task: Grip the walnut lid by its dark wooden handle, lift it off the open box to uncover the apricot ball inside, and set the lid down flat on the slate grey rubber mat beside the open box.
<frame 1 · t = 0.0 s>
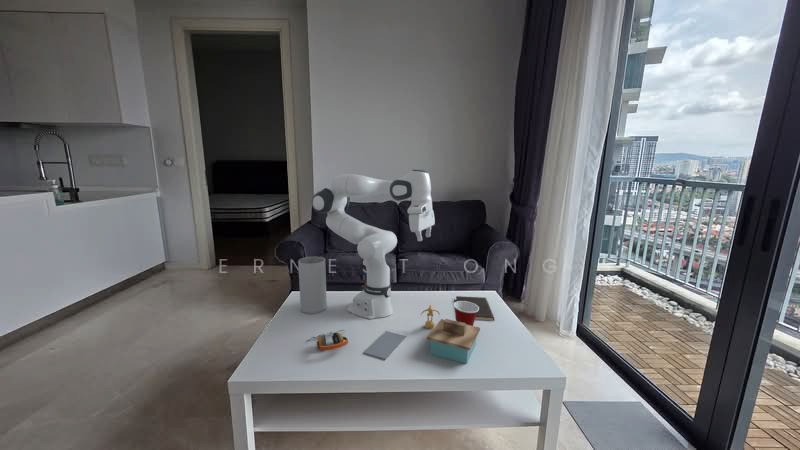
hand: (424, 238, 141), 39 cm above the table, tool pointing down, fingers open, 8 cm apart
open box: (453, 351, 124), on the table
headphones: (329, 345, 128), on the table
plastic cup: (465, 332, 140), on the table
hardcover book: (473, 310, 162), on the table
figurine: (429, 330, 140), on the table
lid: (454, 334, 123), point 7 cm above the table, touching open box
ball: (453, 348, 124), point 1 cm above the table, touching open box
cylinder vase: (313, 309, 160), on the table
mat: (397, 348, 126), on the table
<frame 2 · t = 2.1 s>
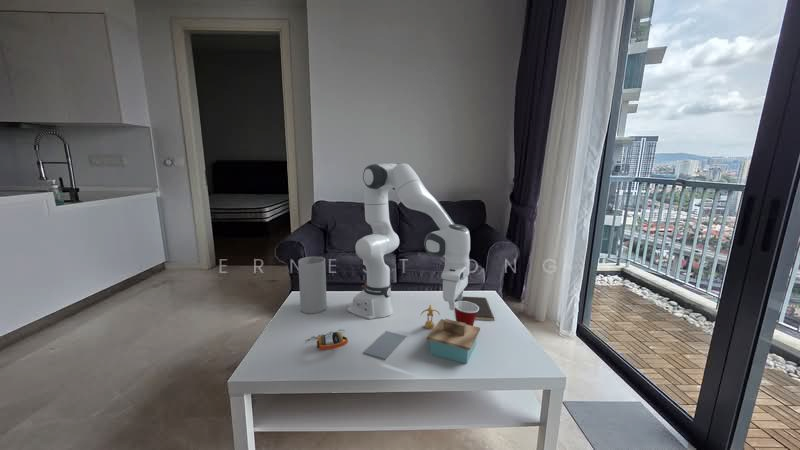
hand: (456, 304, 121), 19 cm above the table, tool pointing down, fingers open, 8 cm apart
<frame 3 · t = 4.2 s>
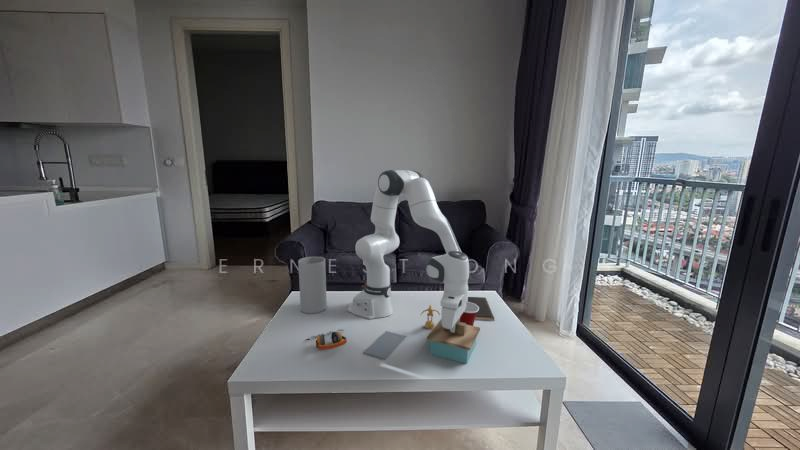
hand: (454, 329, 123), 9 cm above the table, tool pointing down, fingers closed on lid, 2 cm apart
lid: (454, 334, 123), point 7 cm above the table, touching open box, gripper
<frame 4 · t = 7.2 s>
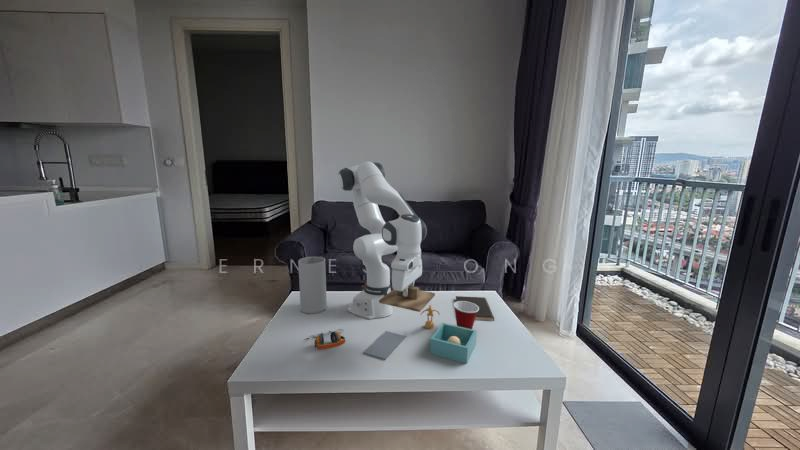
hand: (407, 293, 122), 22 cm above the table, tool pointing down, fingers closed on lid, 2 cm apart
lid: (407, 299, 123), point 20 cm above the table, touching gripper
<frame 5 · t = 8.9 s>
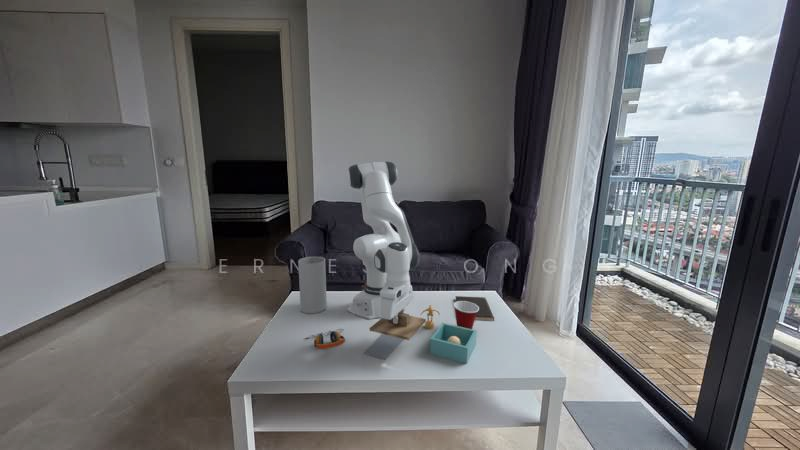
hand: (398, 320, 124), 12 cm above the table, tool pointing down, fingers closed on lid, 2 cm apart
lid: (398, 325, 124), point 10 cm above the table, touching gripper
when the fingers open (4 cm above the table, at t = 10.4 s): lid drops 1 cm, resting on mat.
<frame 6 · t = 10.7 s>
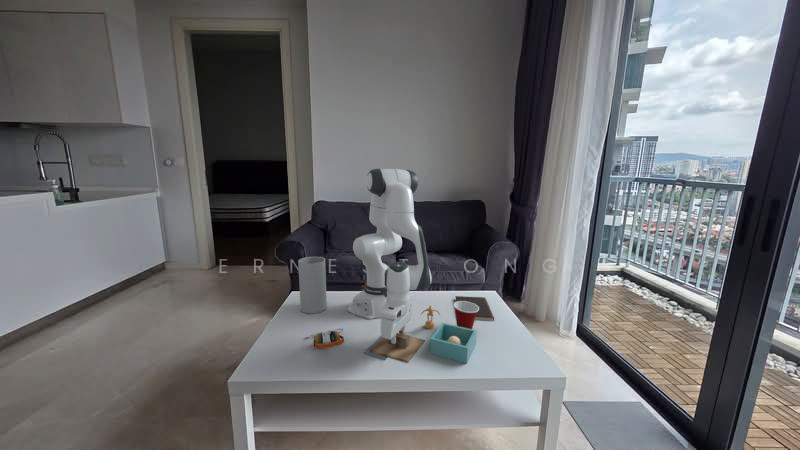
hand: (397, 338, 125), 4 cm above the table, tool pointing down, fingers open, 5 cm apart
lid: (398, 346, 126), point 1 cm above the table, touching mat
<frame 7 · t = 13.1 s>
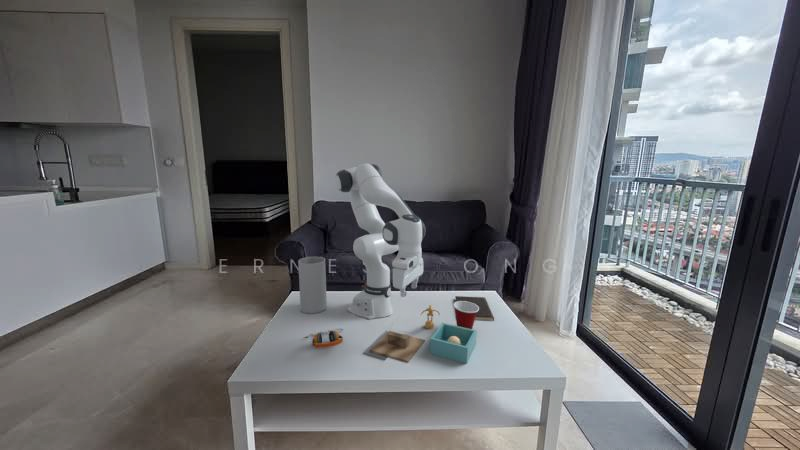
hand: (408, 291, 126), 22 cm above the table, tool pointing down, fingers open, 8 cm apart
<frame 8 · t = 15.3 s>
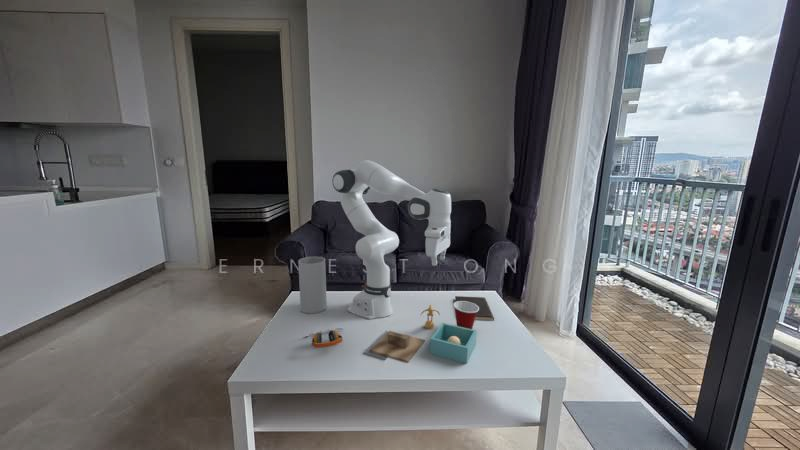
hand: (438, 262, 133), 31 cm above the table, tool pointing down, fingers open, 8 cm apart
at the end: lid inside the target area on the mat (0.1 cm from its centre), point 0.6 cm above the mat's base; lid tilted 0°; the gripper is holding nothing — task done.
